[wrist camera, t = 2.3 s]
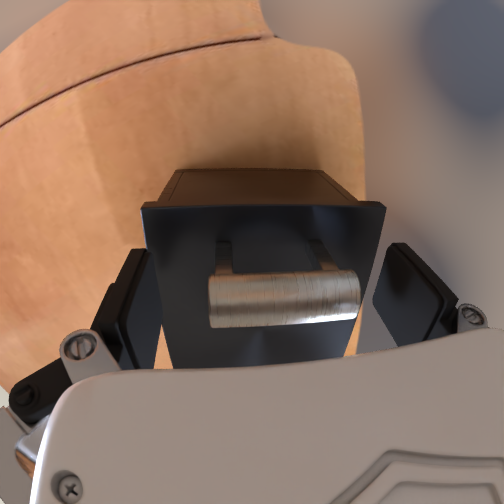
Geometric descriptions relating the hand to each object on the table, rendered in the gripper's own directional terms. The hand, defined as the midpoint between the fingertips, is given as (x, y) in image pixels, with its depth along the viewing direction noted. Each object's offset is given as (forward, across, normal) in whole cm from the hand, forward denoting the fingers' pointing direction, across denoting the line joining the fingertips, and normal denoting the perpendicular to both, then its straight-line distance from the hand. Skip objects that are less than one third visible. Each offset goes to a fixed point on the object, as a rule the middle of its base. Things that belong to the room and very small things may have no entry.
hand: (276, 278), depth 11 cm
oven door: (+3, 0, +5) cm, 6 cm away
